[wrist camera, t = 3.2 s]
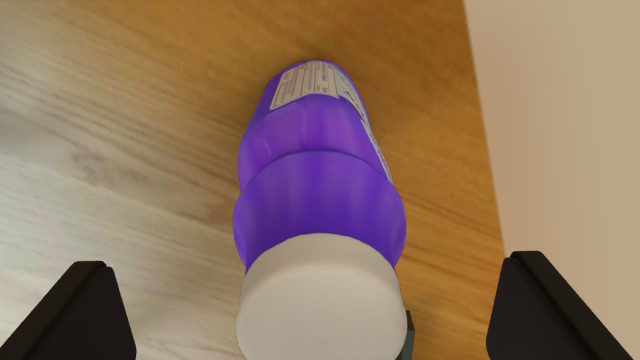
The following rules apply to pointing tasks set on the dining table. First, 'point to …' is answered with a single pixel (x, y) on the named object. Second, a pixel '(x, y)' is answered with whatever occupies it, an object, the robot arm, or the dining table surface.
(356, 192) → the bottle
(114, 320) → the robot arm
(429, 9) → the dining table surface
